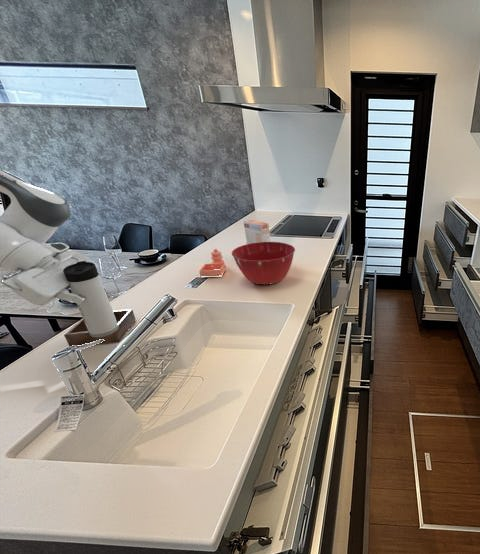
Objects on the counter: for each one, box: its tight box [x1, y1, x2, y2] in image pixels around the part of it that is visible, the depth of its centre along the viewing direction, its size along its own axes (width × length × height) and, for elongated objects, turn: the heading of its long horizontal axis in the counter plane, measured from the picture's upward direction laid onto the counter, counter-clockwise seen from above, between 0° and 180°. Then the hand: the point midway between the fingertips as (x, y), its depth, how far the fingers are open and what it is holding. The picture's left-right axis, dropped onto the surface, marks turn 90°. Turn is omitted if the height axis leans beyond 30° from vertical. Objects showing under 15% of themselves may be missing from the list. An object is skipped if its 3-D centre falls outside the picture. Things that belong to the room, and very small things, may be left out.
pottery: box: [199, 248, 226, 278], centre depth 155 cm, size 18×10×10 cm, turn 11°
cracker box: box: [243, 219, 271, 244], centre depth 173 cm, size 14×6×21 cm, turn 59°
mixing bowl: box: [231, 241, 296, 285], centre depth 146 cm, size 28×28×16 cm
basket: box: [64, 308, 137, 348], centre depth 104 cm, size 14×14×5 cm
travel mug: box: [63, 261, 119, 337], centre depth 81 cm, size 6×7×20 cm
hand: (92, 294), depth 80 cm, fingers closed on travel mug, 6 cm apart
